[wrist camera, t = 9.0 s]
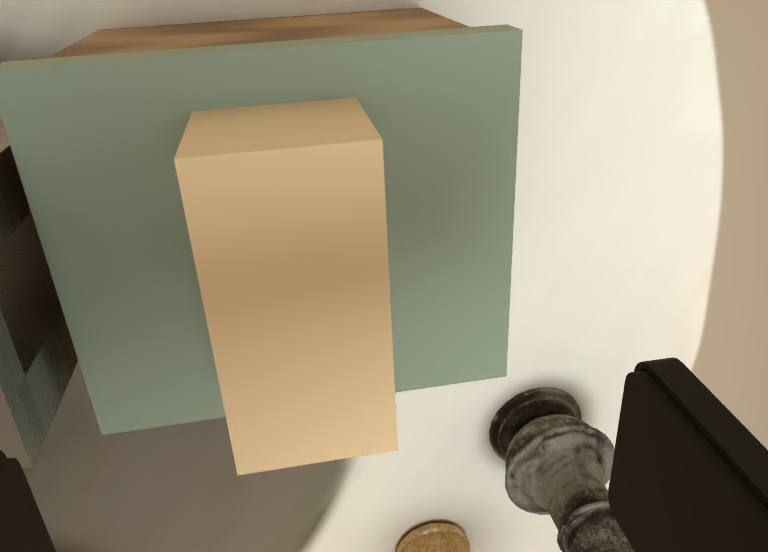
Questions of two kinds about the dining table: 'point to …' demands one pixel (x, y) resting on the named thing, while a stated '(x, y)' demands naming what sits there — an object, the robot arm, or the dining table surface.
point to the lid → (276, 228)
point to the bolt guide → (27, 324)
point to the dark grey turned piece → (558, 468)
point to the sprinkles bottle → (435, 539)
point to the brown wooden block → (257, 31)
